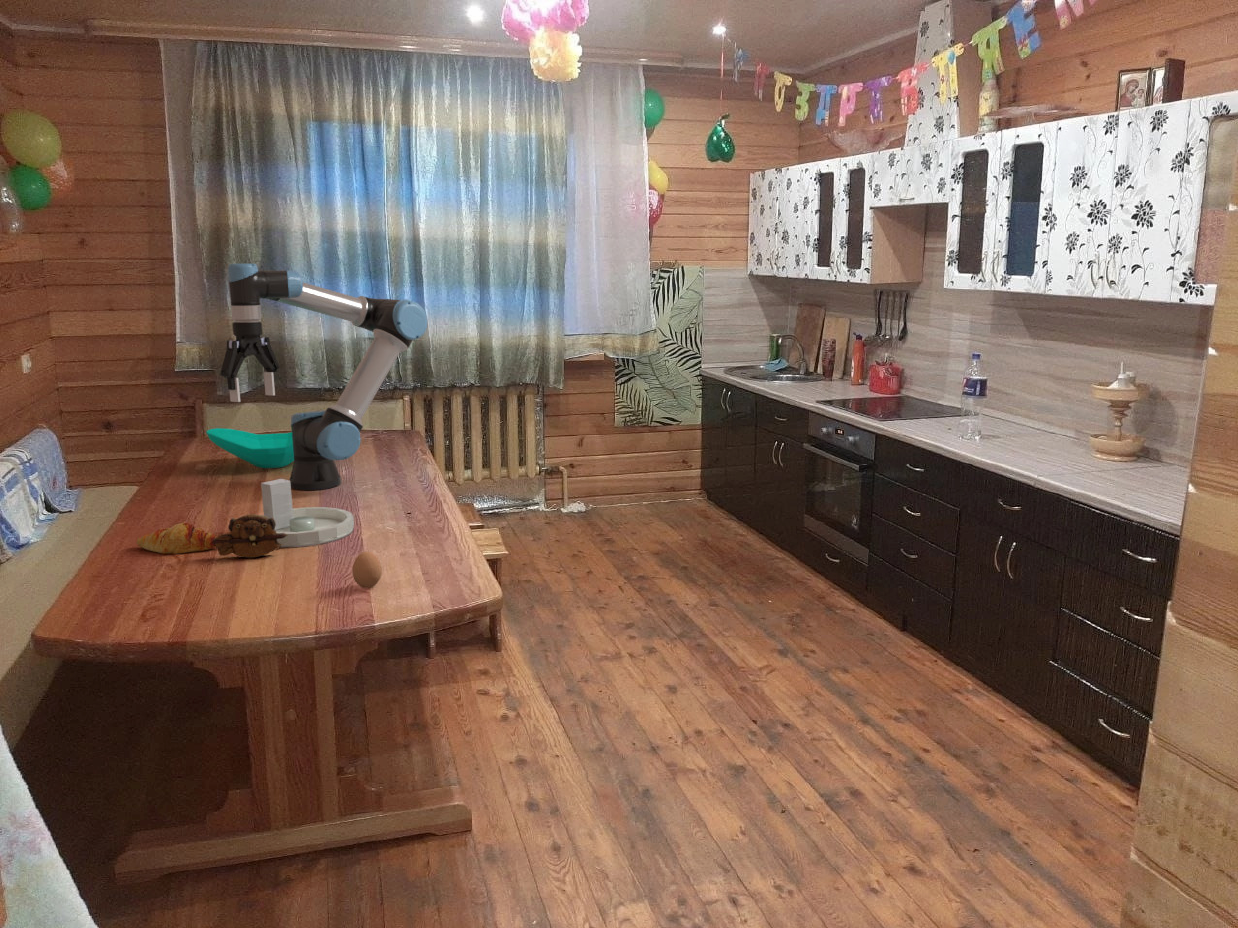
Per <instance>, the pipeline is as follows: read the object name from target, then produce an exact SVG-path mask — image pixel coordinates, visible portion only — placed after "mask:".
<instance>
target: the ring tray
mask: <svg viewBox="0 0 1238 928" xmlns="http://www.w3.org/2000/svg"><path fill="white" fill-rule="evenodd" d="M261 516H264V514H262V515H261ZM354 521H355V519H354V515H353V513H352V512H351V511H348V510H345V509H341V508H334V507H328V506H313V507H312V506H308V507H296V508H294V507H293V519H290V520H289V524H290V526H289V527H285V528H281V529H277V530H275V531H276V533H285V534H287V536H286V537H284V538H282V539H277V542H278V543H279V544H281V546H280V547H279V548H282V549H283V548H288V549H289V548H304V547H312V546H319V545H318V544H320V545H324V543H325V544H329V543H333V542H336V540H337V541H340V540H341V539H344V538H346V536H347V537H348V536H350V535H351V534H352V533H353V532H354V527H355V522H354ZM339 539H340V540H339ZM332 541H333V542H332ZM328 542H329V543H328Z"/></svg>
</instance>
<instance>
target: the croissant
mask: <svg viewBox="0 0 1238 928" xmlns="http://www.w3.org/2000/svg"><path fill="white" fill-rule="evenodd" d="M218 536H219V535H217V536H216V534H215V533H212V532H206V531H204V529H202V528H201V527H200V528H199V527H195V526H194V525H193V524H192V523H191V522H185V521H183V522H181V523H177V524H174V525H173V526H171V527H164V528H159V529H157V530H155V531H154V532H151V533H150V532H149V533H146V534H144V535H143V536H141V537H138V538H137V539H136V544H137V546H138V547H140V548H142V549H144V550H146V551H150V552H154V553H158V554H163V555H164V554H169V555H170V554H174V555H175V554H186V553H191V552H201V551H202V552H203V551H208V550H212V549H215V548H216V546H215V544H213V543H212V540H214V538H216V537H218Z"/></svg>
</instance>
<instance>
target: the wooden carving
mask: <svg viewBox="0 0 1238 928" xmlns="http://www.w3.org/2000/svg"><path fill="white" fill-rule="evenodd" d="M275 526H276V523H275V520H274V519H273V517H272V518H267V517H265V516H261V515H260V514H254V513H253V514H252V513H251V514H245V515H241V516H240V517H238V518H234V517H232V518H231V519H230V520H229V524H228V530H229V531H230V533H224V534H220V535H217V536H218V537H216V538H214V540H212V543H213V544H215V546H216V547H215V548H216V549H217V552H218V555H220V556H228V555H232V554H234V555H236V556H238V557H242V558H247V559H248V558H249V559H250V558H259V557H262V556H266V555H268V554H269V553H271V552H274V551H275V550H277V549H278V548H280V546H281V544H279V543H278V542H277V539H282V538H284V537H286V536H287V534H285V533H276V531H275Z"/></svg>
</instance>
